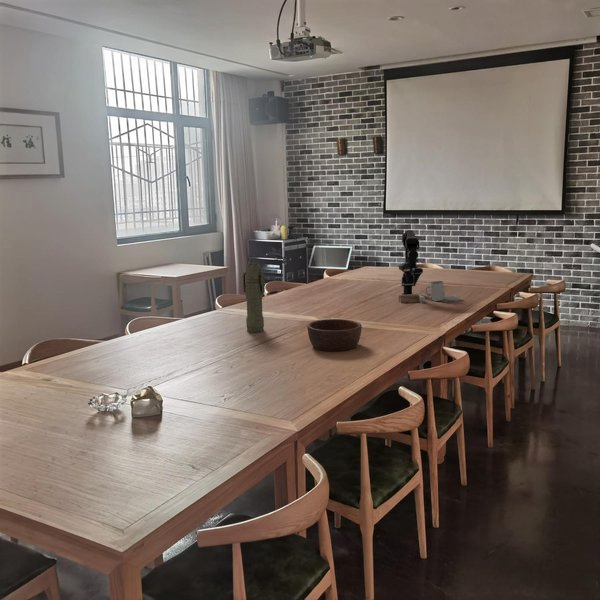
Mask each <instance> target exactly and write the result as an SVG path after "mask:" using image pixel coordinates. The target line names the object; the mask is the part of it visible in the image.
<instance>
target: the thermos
mask: <svg viewBox="0 0 600 600" xmlns="http://www.w3.org/2000/svg"><path fill="white" fill-rule="evenodd" d="M265 280H266V279H265V274H264V272H262V270H261V266H260V263H258V262H250V263H247V264H246V267H245V272H243V273H242V289H243V293H244V294H245V298H246V318H245V321H246V323H245V324H246V332H247V333H250V334H259V333H263V332H265V330H264V326H265V320H264V319H265V318H264V315H263V298H264V294H265V292H266V291H265V288H266V286H265V283H266V281H265Z"/></svg>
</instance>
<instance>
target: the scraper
mask: <svg viewBox="0 0 600 600" xmlns="http://www.w3.org/2000/svg"><path fill="white" fill-rule="evenodd" d="M417 301H419V302H417ZM398 302H399V303H400V302H401V303H400V304H402V302H408V303H420V302H425V303H426V297H425V296H423V295H421V294H419V293H412V294H408V295H402V294H399V295H398Z"/></svg>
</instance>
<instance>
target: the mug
mask: <svg viewBox="0 0 600 600" xmlns="http://www.w3.org/2000/svg"><path fill="white" fill-rule="evenodd" d="M428 288H429V289H430V293H429V292H428ZM424 292H425V295H426V296H429V297H431V301H432V300H433V302H441V301H442V300H445V296H446V291H445V283H444V281H442V280H437V281H436V280H435V281H432V282H430V283H429V284H428V285H426V286H425V290H424Z"/></svg>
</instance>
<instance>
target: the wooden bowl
mask: <svg viewBox="0 0 600 600" xmlns="http://www.w3.org/2000/svg"><path fill="white" fill-rule="evenodd" d="M362 327H363V326H362V324H361V323H360V322H359V321H356V320H352V319H351V320H350V319H342V318H341V319H340V318H328V319H320V320H319V319H318V320H314V321H311V322H310V323H309V322H308V324H307V334H308V338H309V341H310V344H311V345H312V347H313V348H314V349H316V350H319V351H323V352H345V351H349V350H352V349H354V347H355V348H356V347H357V345H358V344H359V342H360V339H361V334H362V329H363V328H362Z"/></svg>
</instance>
